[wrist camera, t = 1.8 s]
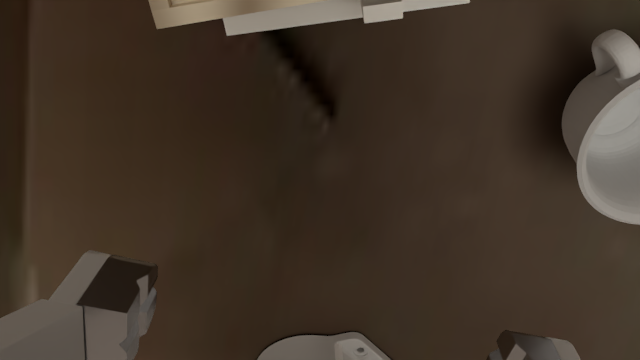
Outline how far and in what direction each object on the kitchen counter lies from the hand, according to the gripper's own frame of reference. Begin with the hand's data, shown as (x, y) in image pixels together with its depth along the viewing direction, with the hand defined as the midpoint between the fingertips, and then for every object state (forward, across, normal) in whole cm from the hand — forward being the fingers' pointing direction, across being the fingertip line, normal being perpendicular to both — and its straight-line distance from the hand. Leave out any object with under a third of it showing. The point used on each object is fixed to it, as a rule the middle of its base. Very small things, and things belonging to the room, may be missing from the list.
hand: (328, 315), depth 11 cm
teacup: (+32, -22, 0) cm, 39 cm away
